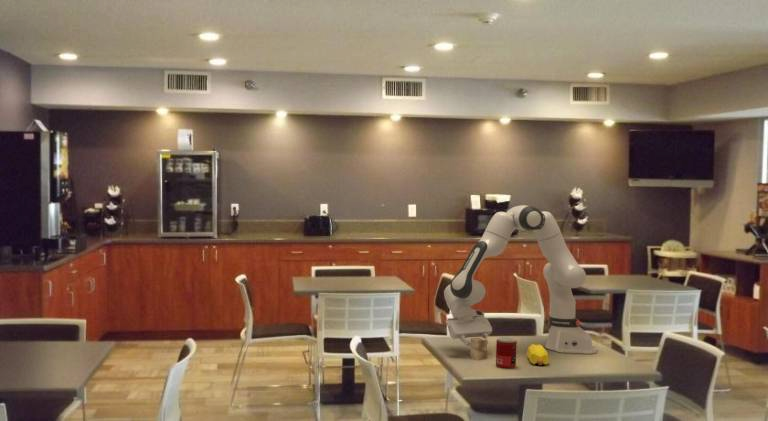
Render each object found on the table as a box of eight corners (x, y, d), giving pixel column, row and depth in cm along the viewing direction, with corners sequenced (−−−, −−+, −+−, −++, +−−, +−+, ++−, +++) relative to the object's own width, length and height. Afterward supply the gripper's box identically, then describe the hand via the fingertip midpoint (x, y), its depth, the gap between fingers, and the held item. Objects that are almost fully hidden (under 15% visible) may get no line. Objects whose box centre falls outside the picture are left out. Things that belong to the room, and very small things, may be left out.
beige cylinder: (479, 356, 319) (480, 337, 319) (486, 358, 314) (487, 339, 314) (470, 357, 316) (470, 338, 316) (477, 359, 312) (477, 340, 312)
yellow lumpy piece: (544, 357, 320) (525, 356, 321) (544, 342, 320) (526, 341, 321) (549, 367, 302) (530, 366, 303) (550, 351, 302) (531, 350, 303)
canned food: (515, 369, 297) (516, 341, 297) (495, 367, 299) (496, 340, 299) (516, 364, 305) (516, 337, 304) (496, 363, 306) (497, 336, 306)
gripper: (447, 314, 317) (460, 342, 309) (486, 311, 327) (499, 338, 319) (441, 323, 321) (453, 350, 313) (479, 320, 331) (493, 346, 323)
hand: (477, 344), depth 316 cm, fingers open, 8 cm apart
